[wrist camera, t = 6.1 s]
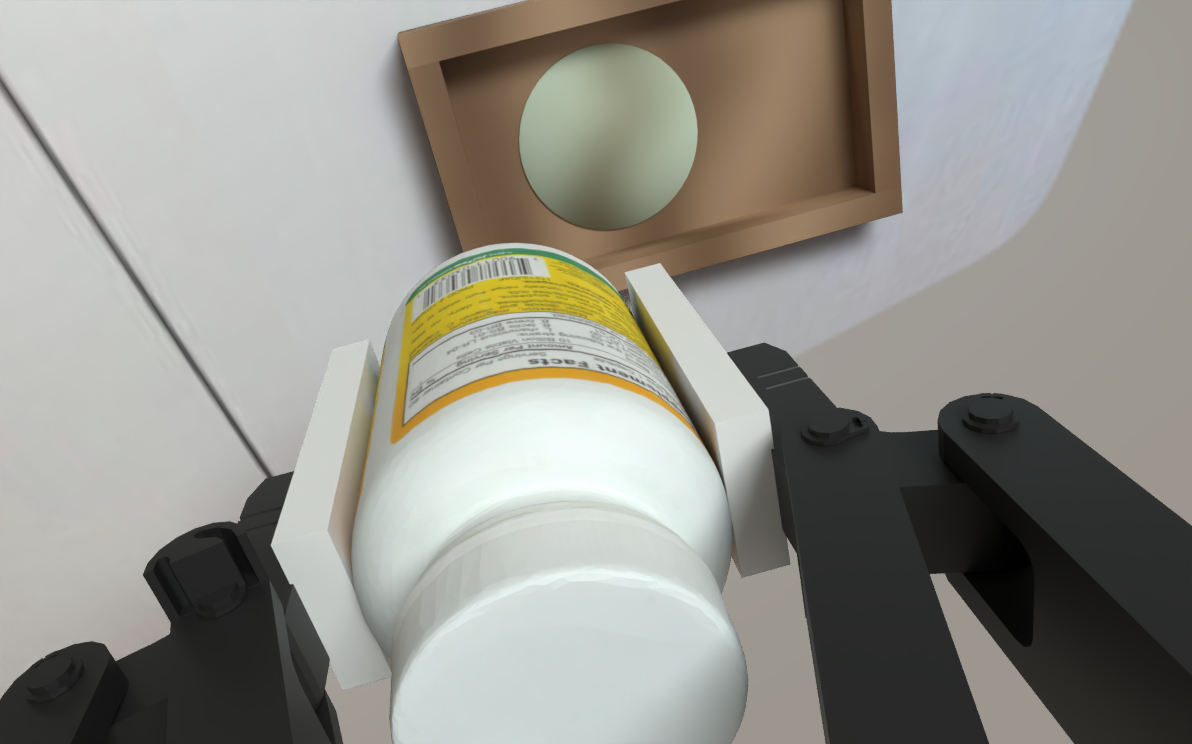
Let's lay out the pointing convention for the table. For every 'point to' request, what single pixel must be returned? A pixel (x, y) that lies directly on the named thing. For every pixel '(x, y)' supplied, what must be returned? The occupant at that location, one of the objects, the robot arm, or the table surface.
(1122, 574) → the robot arm
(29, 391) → the table surface
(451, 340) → the supplement bottle
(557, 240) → the tray
